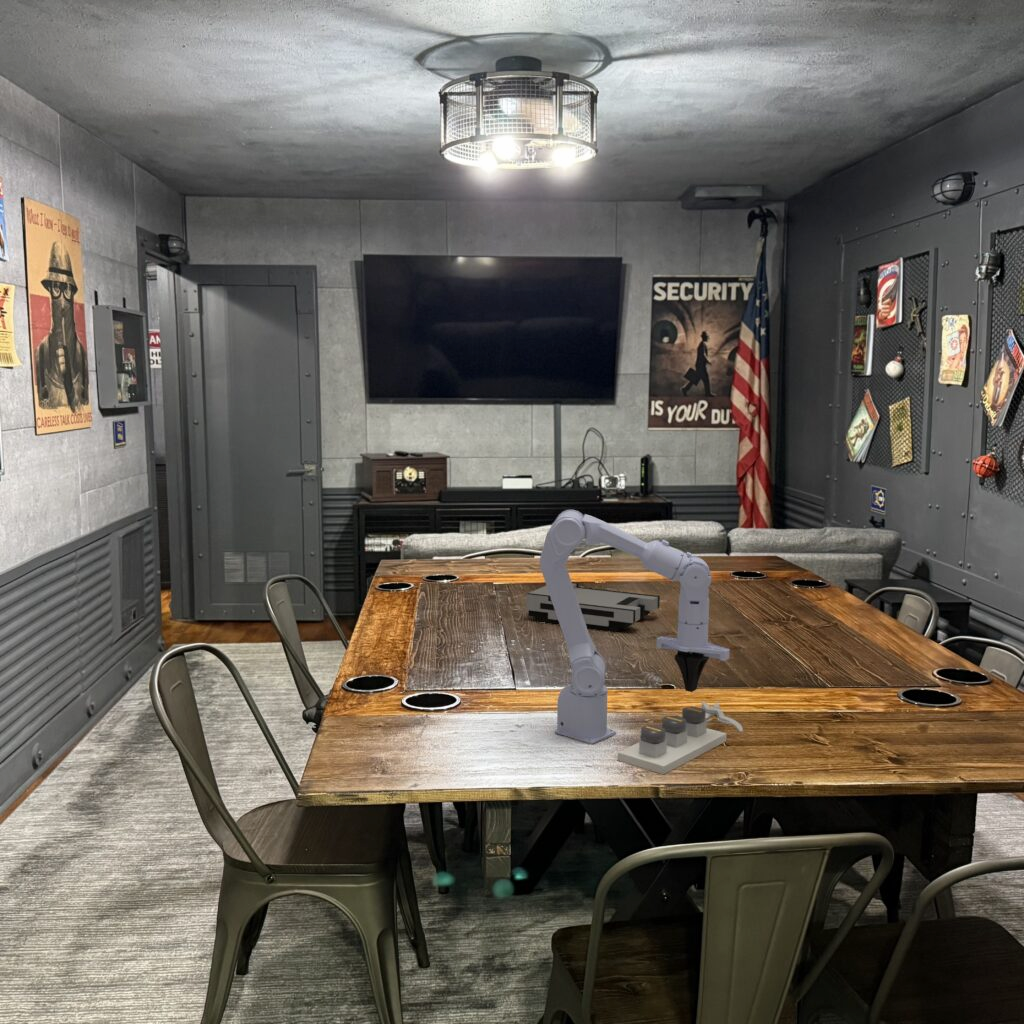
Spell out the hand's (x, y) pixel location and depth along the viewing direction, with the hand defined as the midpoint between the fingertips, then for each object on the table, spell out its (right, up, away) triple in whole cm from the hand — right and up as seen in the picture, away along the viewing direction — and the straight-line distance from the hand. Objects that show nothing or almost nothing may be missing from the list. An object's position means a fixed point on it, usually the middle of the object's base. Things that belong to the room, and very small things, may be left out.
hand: (690, 690), depth 199 cm
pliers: (+7, -9, +13) cm, 17 cm away
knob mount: (-4, -11, -4) cm, 12 cm away
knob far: (+1, -8, +1) cm, 8 cm away
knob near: (-9, -10, -10) cm, 16 cm away
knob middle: (-4, -9, -4) cm, 11 cm away
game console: (-11, +3, +95) cm, 95 cm away
